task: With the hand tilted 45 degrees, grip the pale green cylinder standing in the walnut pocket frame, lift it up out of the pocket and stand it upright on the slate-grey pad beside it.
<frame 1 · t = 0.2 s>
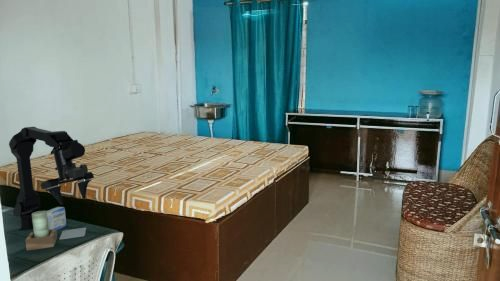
hand: (73, 201, 141), 15 cm above the table, tool tilted 15°, fingers open, 9 cm apart
pale green cylinder: (41, 228, 139), in the pocket frame
pocket frame: (42, 244, 140), on the table
slate pad: (73, 233, 149), on the table
medicine box: (56, 229, 156), on the table
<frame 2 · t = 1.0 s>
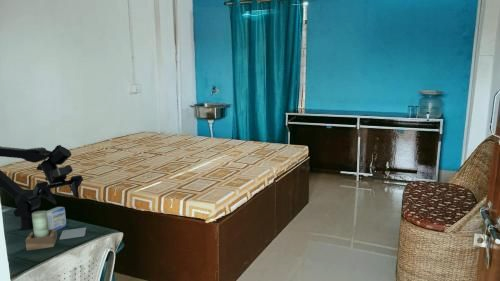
hand: (67, 201, 150), 13 cm above the table, tool tilted 45°, fingers open, 9 cm apart
nothing on the table moved.
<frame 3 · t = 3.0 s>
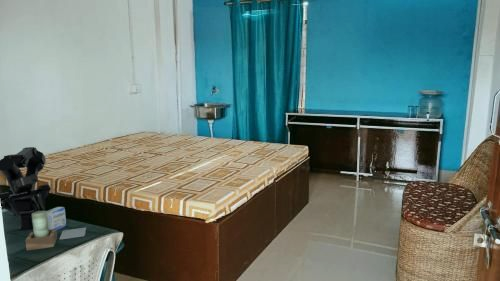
hand: (32, 212, 141), 12 cm above the table, tool tilted 45°, fingers open, 9 cm apart
nothing on the table moved.
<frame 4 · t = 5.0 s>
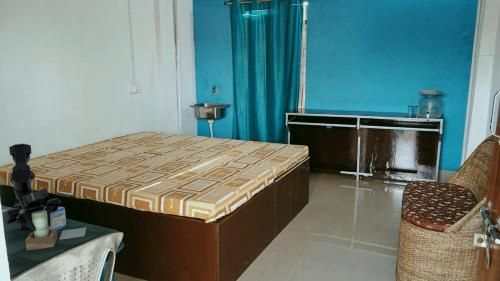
hand: (42, 228, 138), 7 cm above the table, tool tilted 45°, fingers closed on pale green cylinder, 5 cm apart
pale green cylinder: (40, 228, 139), in the pocket frame, touching gripper
everything else where it was.
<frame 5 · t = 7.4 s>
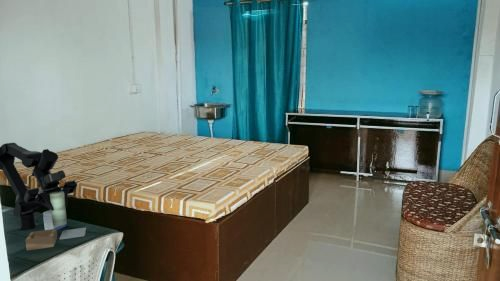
hand: (60, 208, 143), 12 cm above the table, tool tilted 45°, fingers closed on pale green cylinder, 5 cm apart
pale green cylinder: (58, 208, 144), point 12 cm above the table, touching gripper
everything else where it was.
when the fingers open (9 cm above the table, at t = 9.5 s): pale green cylinder drops 1 cm, resting on slate pad.
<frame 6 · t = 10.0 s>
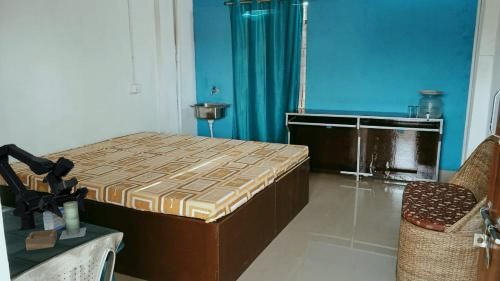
hand: (73, 214, 148), 9 cm above the table, tool tilted 45°, fingers open, 9 cm apart
pale green cylinder: (71, 217, 148), on the slate pad, point 7 cm above the table
everything else where it was.
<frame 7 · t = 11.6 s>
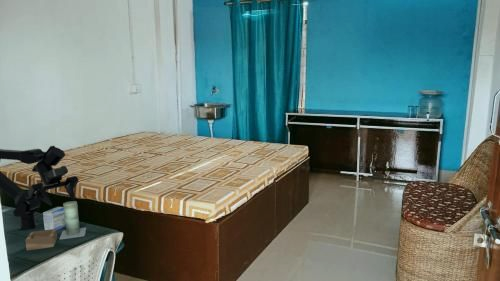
hand: (63, 202, 149), 13 cm above the table, tool tilted 45°, fingers open, 9 cm apart
nothing on the table moved.
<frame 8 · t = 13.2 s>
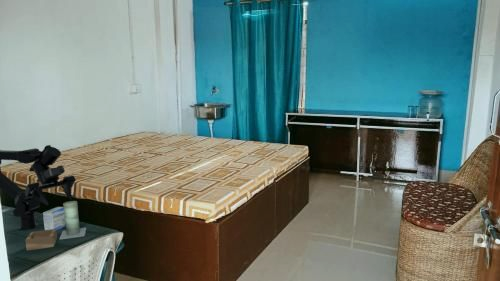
hand: (59, 201, 148), 14 cm above the table, tool tilted 45°, fingers open, 9 cm apart
nothing on the table moved.
at the end: pale green cylinder 0.1 cm off-centre on the slate pad, point 6.9 cm above the slate pad's base; pale green cylinder tilted 1°; the gripper is holding nothing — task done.
